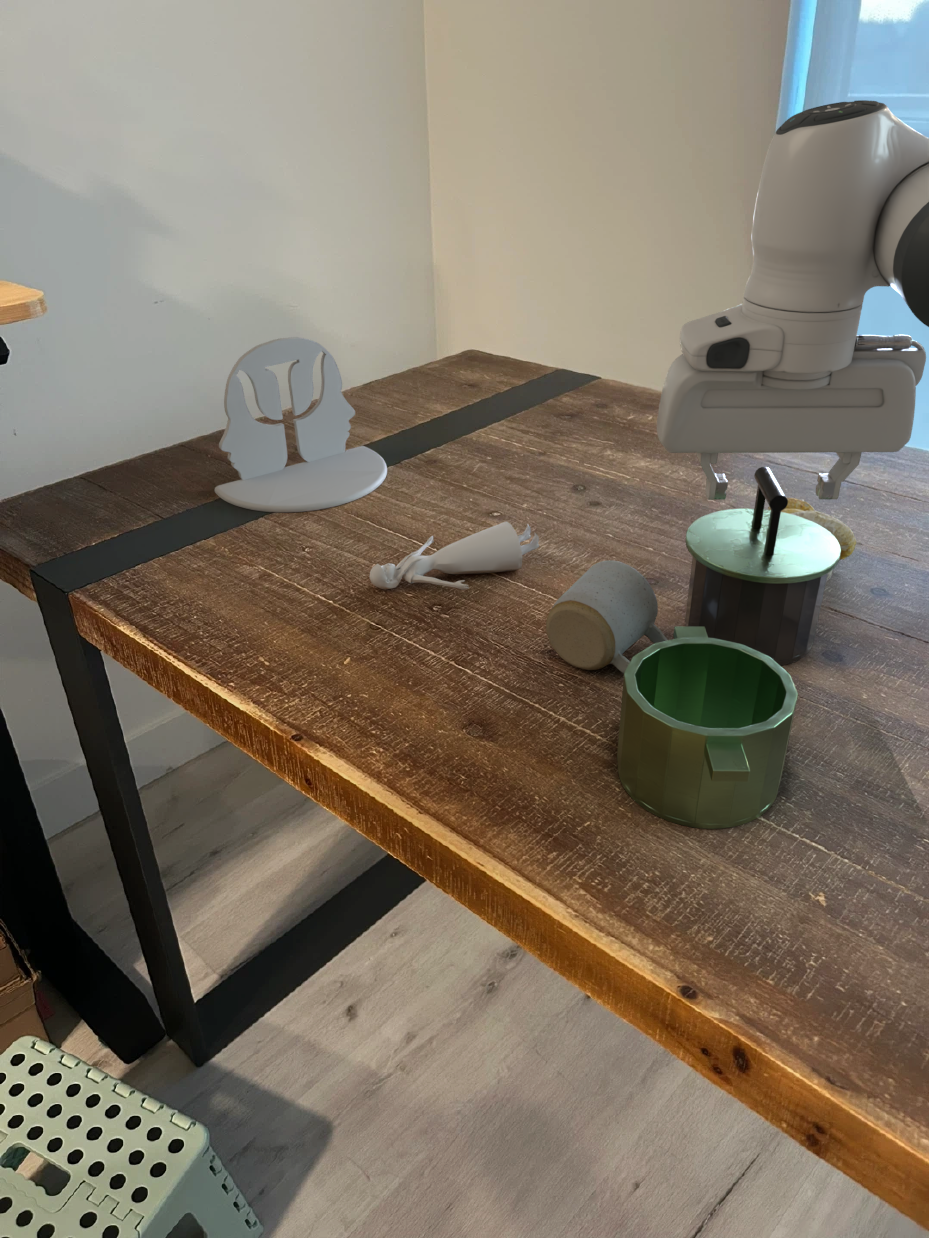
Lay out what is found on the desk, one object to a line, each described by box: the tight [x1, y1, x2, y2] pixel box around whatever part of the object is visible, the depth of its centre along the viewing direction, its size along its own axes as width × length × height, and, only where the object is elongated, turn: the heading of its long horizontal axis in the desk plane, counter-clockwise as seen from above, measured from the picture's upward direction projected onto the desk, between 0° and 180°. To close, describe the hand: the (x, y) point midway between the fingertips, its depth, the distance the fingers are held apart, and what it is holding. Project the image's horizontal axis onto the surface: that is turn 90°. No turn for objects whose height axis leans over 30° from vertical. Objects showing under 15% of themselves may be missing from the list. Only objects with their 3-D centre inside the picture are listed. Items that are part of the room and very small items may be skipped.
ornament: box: [214, 336, 388, 513], centre depth 117 cm, size 22×13×17 cm, turn 126°
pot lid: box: [684, 466, 841, 584], centre depth 85 cm, size 13×13×7 cm
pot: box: [616, 625, 799, 830], centre depth 72 cm, size 12×17×8 cm
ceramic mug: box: [545, 560, 668, 674], centre depth 86 cm, size 11×8×8 cm
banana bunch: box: [766, 497, 857, 582], centre depth 102 cm, size 10×6×15 cm
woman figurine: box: [369, 521, 540, 591], centre depth 101 cm, size 12×4×18 cm
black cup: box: [684, 556, 828, 667], centre depth 89 cm, size 12×12×9 cm
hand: (770, 497), depth 84 cm, fingers open, 8 cm apart
